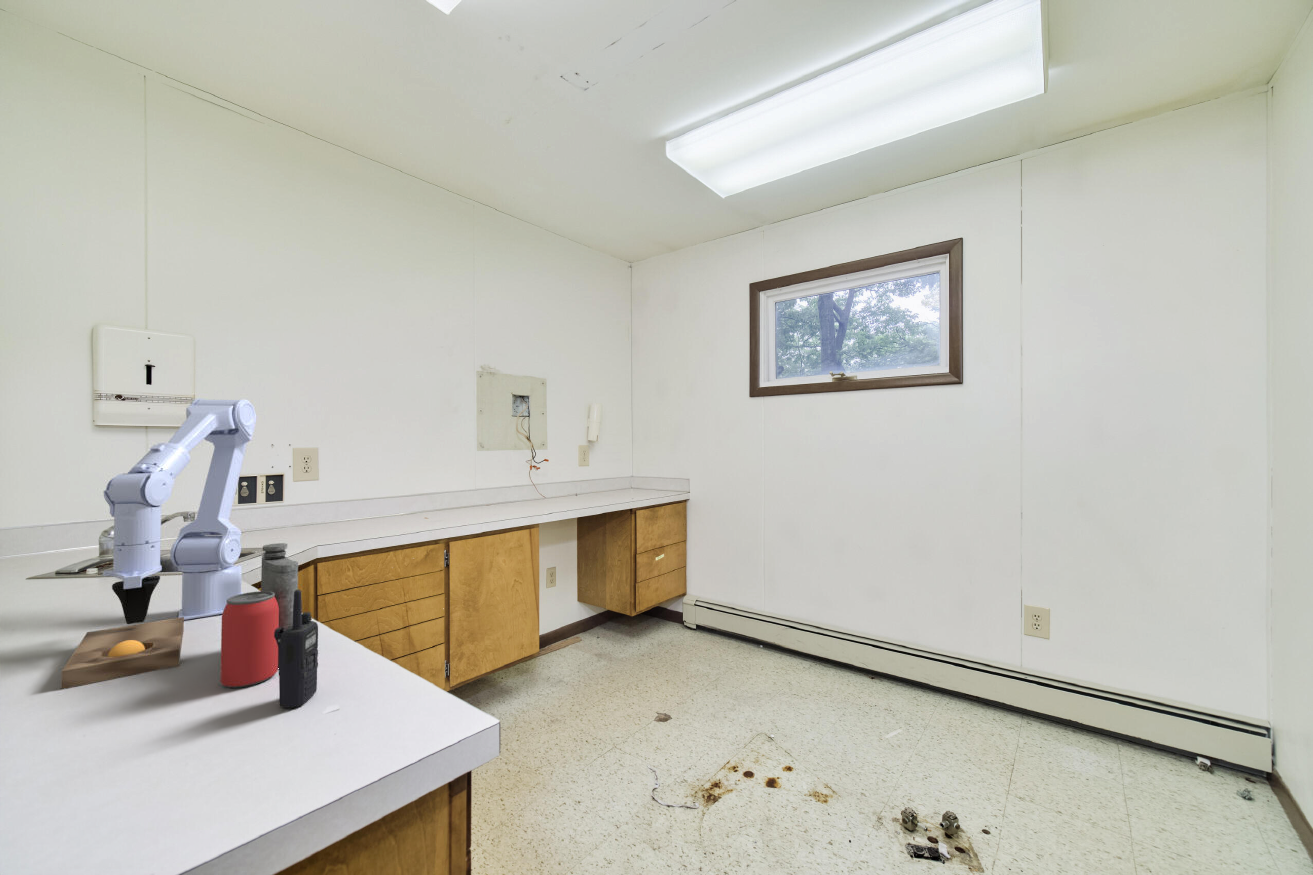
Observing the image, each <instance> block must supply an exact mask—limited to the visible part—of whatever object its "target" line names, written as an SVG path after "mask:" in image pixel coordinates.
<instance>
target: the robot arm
mask: <svg viewBox="0 0 1313 875" xmlns="http://www.w3.org/2000/svg"><path fill="white" fill-rule="evenodd" d="M185 413H186V414H185V416H186V419H185V421H184V422H182V424H181V426H180V427H179V428H178V429H177V430H176V431H175V433H174V434H173V436H172V437H171V438H170V439H169V441H168V442H160V443H157V444H154V445H152V446H151V447H150V449H149V451H148V452H147V453H146V454H144V456H143V457H142V458H141V459H140V460H139V461H138V462H137V463H136V464H135V465H134V466H133V467H132V468H130V470H129V471H128V472H127V473H126V472H124V473H119V474H117V475H115V476H114V477H113V478H111V479H110V480H109V481H108V483H107V485H106V487H105V490H103V497H104V500H105V502H106V503H107V504H108V506H109V514H110V515H111V517H112V518H114V519H113V555H112V557H113V564H112V566H113V568H112V569H110V570H109V569H108V570H104V571H103V572H102V577H103V578H104V577H113V578H115V579H118V580H120V581H117V582H114V583H113V584H112V585H111V589H112V591H113V593H114V594H115V595H116V596H117V598H118V600H119V601H120V605H121V607H122V611H123V617H124V620H125V623H126V624H127V625H135V624H141V623H145V620H146V618H147V615H148V611H149V607H150V603H151V598H152V595H153V593H154V591H155V589H156V587H157V586H158V585H159V582H160V581H161V575H154V574H157V573H159V572H161V571H162V570H163V568H162V565H161V547H162V546H161V543H162V541H161V538H162V536H161V535H162V534H161V533H162V532H161V531H162V505H163V504H165V503H166V502H167V501H169V500H170V498H171V494H172V491H173V487H174V485H175V482H176V481H175V479H176V478H177V477H178V475H180V473H181V472H182V471H183V470H184V469H185V468H186V467H187V466H188V464H189V463H190V462H191V456H190V454H189V453H190V452H191V451H193V449H194V448H195V447H196V446H198V445H199V444H200V443H201V442H202V441H203V440H205V441H206V442H209V443H212V444H213V446H214V449H213V453H212V457H211V460H210V465H209V467H208V473H207V477H206V479H205V480H206V481H205V484H204V488H203V492H202V496H201V499H200V502H199V507H198V510H197V514H196V515H197V516H196V518H195V519H194V520H193V521H191V522H190V523H188V524H186V525H185V526H183V527H182V528H180V530H179V533H178V537H177V538H176V539H175V541H174V542H173V544H172V546H171V548H170V551H169V552H170V553H169V557H170V562H171V563H172V565H173V566H174V567H177V571H178V572H182V575H181V576H182V577H181V580H182V581H181V608H180V609H179V611H178V617H177V618H180V617H184V621H186V620H191V619H198V618H199V619H200V618H206V617H213V616H216V615H217V616H218V615H222V614H223V610H224V608H225V606H226V604H227V599H228V598H230V597H233V596H235V595H239V594H244V592H243V591H242V565H240V564H239V565H238V564H237V565H234V564H235V563H236V562H237V560H238V559H239V557H240V555H241V552H242V544H241V536H242V530H240V529H239V527H237V526H236V525H234V523H232V522H231V521H230V517H231V515H232V514H231V513H232V509H233V504H234V501H235V496H236V493H237V488H238V484H239V481H240V480H239V479H240V475H241V472H242V466H243V463H244V458H245V454H246V450H247V445H248V443H249V442H250V441H252V439H253V436H254V432H255V427H256V422H257V418H258V416H257V414H256V410H255V407H254V405H253V404H252V403H251V401H249V400H248V399H245V398H244V399H243V398H241V399H205V398H196V399H194V400H193V401H192V402H191V403H190V405H188V406H187V407H186V409H185Z"/></svg>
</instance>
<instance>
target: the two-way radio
mask: <svg viewBox="0 0 1313 875" xmlns="http://www.w3.org/2000/svg"><path fill="white" fill-rule="evenodd" d="M302 598H303V597H302V590H301V589H298V590H296V591H295V592H294V603H293V626H291V627H289V628H287V629H286V630H283V629H284V628H277V629H275V632H274V638H275V639H276V642H277V645H278V652H279V669H278V679H279V680H278V681H279V682H278V684H279V685H278V686H279V688H278V689H279V693H278V694H279V700H278V701H279V706H280V707H283V709H289V708H298V707H301V706H303V705H304V704H305V703H307V702H308V701H309V700H310V699H311V698H312V697H313V696H314V694H316V692H317V687H318V667H319V662H318V660H319V659H318V658H319V657H318V656H319V649H318V648H319V625H318V623H317V621H313V620H312V614H311V612H310V611H305V612H303V609H302V608H303V602H302Z"/></svg>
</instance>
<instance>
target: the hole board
mask: <svg viewBox="0 0 1313 875" xmlns="http://www.w3.org/2000/svg"><path fill="white" fill-rule="evenodd" d="M184 622H185V620H184V617H180V618H178V617H174V618H169V619H163V620H161V619H160V620H156V621H149V622H141V623H135V624H129V625H125V626H118V627H111V628H105V629H99V630H92V631H88V632H86V634H85V635H84V636H83V637H82V640H80V642H79V644H78V645H77V647H76V649H75V650H74V652H73V653H72V655H70V656H71V657H70V658H69V659H68V660H67V662H66V664H65V666H64V667H63V668H62V670H61V686H60V687H61V690H65V689H64V688H66V689H69V688H70V687H71V688H75V687H74V686H76V687H80V686H86V685H89V684H95V683H101V682H104V681H110V680H113V679H119V678H124V677H130V676H135V675H138V674H144V673H149V672H154V671H158V670H164V669H168V668H174V667H178V666H180V661H181V660H180V658H181V652H182V645H183V638H184V632H185V630H184V625H185V623H184ZM127 640H136V641H139V642H141V643H142V644H143V645H144V647H145V650H143V651H140V652H138V653H134V654H129V655H123V656H118V657H108V654H109V652H110V650H111V649H112V648H113V647H114V646H116V645H117V644H119V643H121V642H123V641H127ZM71 688H70V689H71Z"/></svg>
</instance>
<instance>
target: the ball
mask: <svg viewBox="0 0 1313 875" xmlns="http://www.w3.org/2000/svg"><path fill="white" fill-rule="evenodd" d="M143 650H145V647H144V645H143V644H142V643H141V642H139V641H136V640H127V641H123V642H121V643H119V644H117V645H116V646H114V647H113V648H112V649H111V650H110V652H109V654H108V657H118V656H123V655H129V654H134V653H138V652H140V651H143Z"/></svg>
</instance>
